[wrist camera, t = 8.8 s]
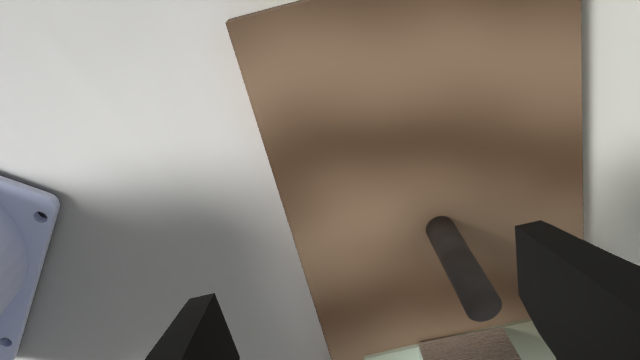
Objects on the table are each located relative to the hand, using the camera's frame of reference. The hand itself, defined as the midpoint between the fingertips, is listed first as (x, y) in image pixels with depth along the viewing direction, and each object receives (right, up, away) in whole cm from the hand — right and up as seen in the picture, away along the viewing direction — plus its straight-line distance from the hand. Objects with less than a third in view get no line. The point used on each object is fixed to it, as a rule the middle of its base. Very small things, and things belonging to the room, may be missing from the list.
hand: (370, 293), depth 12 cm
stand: (+5, -2, +11) cm, 13 cm away
